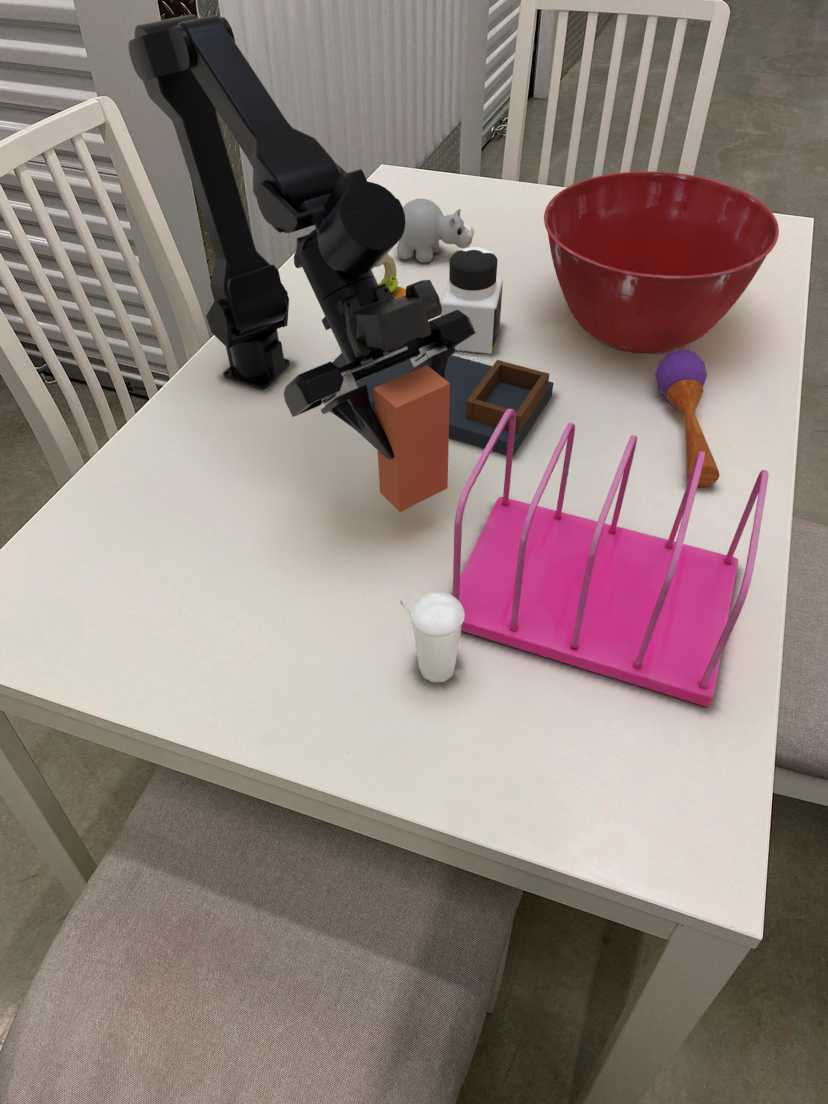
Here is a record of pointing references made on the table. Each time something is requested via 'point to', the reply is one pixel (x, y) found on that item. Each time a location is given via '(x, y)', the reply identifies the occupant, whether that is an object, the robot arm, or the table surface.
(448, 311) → the medicine bottle
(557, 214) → the mixing bowl
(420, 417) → the terracotta rectangular block
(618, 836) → the table surface
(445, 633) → the milkshake
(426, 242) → the chubby cartoon animal
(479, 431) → the dark board with frame
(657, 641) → the file sorter
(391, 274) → the rattle
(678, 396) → the purple and brown maraca
